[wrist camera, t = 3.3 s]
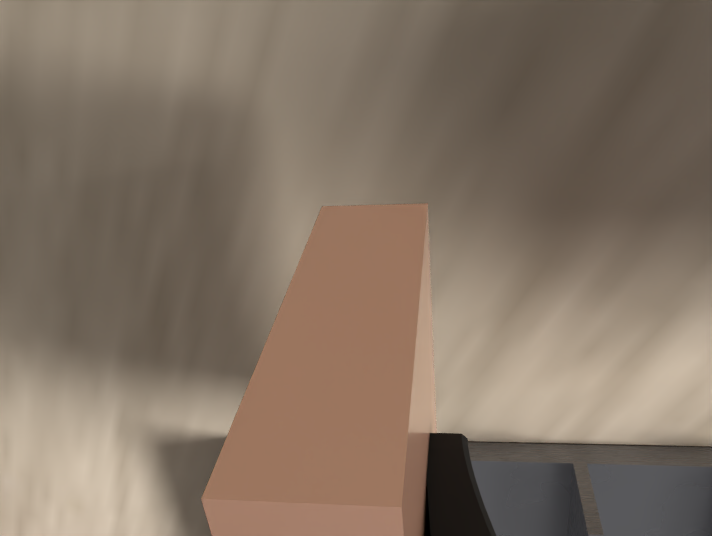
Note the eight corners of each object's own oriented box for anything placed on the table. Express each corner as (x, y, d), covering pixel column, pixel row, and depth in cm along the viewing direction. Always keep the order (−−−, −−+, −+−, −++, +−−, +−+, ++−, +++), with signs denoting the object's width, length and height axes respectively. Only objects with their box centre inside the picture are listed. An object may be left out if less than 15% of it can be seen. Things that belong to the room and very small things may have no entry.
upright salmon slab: (427, 203, 12) (401, 507, 6) (440, 531, 17) (432, 895, 11) (321, 206, 13) (200, 499, 7) (361, 527, 17) (310, 879, 11)
